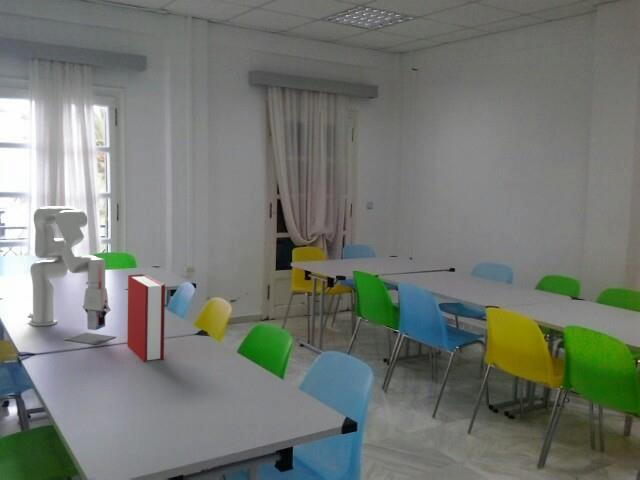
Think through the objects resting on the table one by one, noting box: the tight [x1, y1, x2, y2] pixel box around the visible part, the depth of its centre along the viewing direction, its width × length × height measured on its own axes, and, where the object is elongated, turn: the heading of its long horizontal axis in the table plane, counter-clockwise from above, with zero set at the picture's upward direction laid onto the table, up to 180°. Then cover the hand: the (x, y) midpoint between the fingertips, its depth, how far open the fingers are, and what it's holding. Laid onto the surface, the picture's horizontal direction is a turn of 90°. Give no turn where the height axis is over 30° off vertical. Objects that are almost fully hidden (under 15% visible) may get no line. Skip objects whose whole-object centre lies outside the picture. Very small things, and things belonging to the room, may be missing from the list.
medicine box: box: [86, 310, 106, 331], centre depth 275 cm, size 8×4×9 cm, turn 168°
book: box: [126, 273, 166, 363], centre depth 258 cm, size 27×8×32 cm, turn 33°
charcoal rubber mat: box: [64, 332, 117, 346], centre depth 276 cm, size 17×14×1 cm
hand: (96, 323), depth 275 cm, fingers closed on medicine box, 4 cm apart
